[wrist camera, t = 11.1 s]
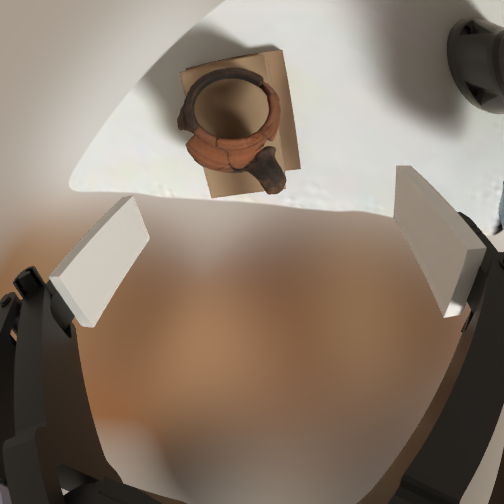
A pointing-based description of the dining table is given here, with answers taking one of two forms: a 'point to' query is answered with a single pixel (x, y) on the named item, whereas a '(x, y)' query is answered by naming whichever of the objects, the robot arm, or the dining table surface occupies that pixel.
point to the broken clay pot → (242, 149)
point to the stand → (244, 114)
